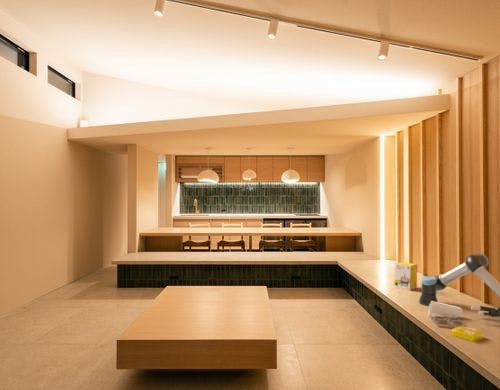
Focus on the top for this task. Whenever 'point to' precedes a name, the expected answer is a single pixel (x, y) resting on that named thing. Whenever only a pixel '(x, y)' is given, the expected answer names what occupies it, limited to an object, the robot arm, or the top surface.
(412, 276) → the packaging box
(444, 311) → the shelf bracket
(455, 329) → the element tile
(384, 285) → the top surface
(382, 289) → the top surface
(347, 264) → the top surface
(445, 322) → the hinge board
